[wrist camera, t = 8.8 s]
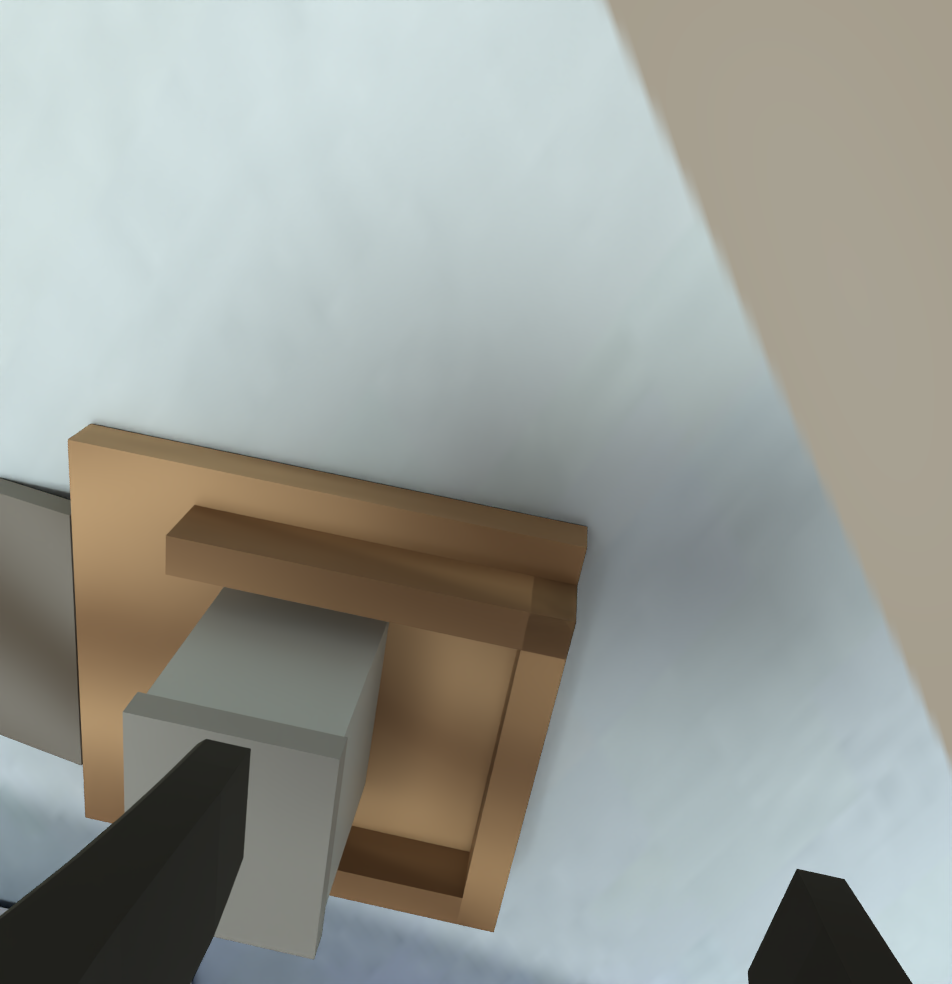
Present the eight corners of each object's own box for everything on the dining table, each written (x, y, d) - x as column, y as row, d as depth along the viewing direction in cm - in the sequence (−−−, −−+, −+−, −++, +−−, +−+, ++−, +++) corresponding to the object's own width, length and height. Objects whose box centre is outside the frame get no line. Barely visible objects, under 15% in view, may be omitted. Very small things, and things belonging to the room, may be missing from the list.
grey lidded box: (367, 789, 23) (313, 959, 19) (215, 756, 23) (126, 916, 19) (394, 611, 21) (339, 759, 16) (223, 575, 21) (122, 712, 16)
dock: (498, 863, 26) (487, 956, 23) (-77, 735, 27) (-155, 811, 24) (587, 515, 21) (586, 583, 18) (-134, 366, 21) (-242, 408, 19)
